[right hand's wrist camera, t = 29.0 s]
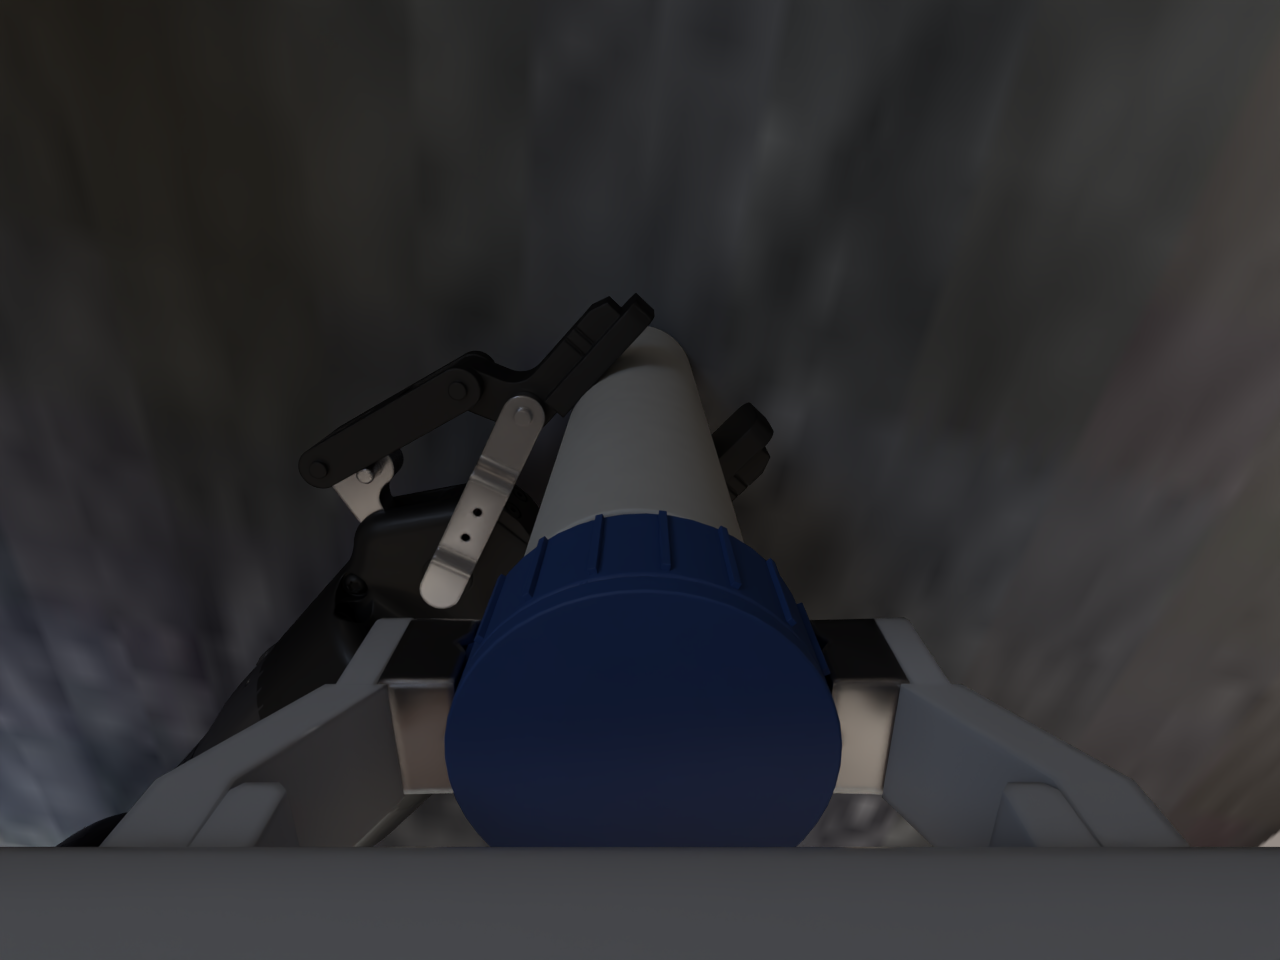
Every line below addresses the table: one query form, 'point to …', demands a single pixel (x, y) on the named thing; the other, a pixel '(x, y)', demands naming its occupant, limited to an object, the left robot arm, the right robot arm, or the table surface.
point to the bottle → (638, 447)
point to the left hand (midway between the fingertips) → (702, 363)
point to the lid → (643, 696)
